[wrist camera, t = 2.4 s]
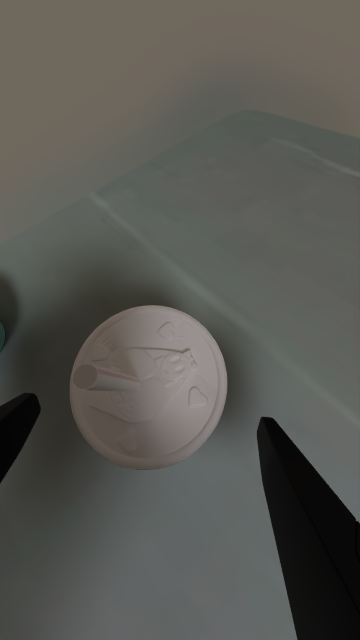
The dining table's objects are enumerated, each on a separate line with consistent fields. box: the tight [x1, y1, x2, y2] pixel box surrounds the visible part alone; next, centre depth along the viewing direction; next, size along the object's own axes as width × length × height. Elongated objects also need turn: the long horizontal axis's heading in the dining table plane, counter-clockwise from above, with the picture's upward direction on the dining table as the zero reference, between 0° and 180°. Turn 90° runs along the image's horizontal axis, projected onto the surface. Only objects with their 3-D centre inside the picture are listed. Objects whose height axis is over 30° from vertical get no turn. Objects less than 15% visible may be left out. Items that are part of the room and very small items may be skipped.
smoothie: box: [69, 305, 227, 470], centre depth 11 cm, size 6×6×14 cm
